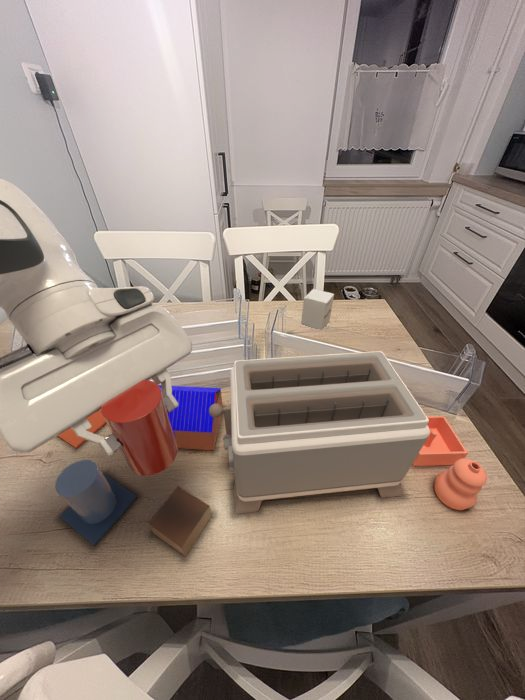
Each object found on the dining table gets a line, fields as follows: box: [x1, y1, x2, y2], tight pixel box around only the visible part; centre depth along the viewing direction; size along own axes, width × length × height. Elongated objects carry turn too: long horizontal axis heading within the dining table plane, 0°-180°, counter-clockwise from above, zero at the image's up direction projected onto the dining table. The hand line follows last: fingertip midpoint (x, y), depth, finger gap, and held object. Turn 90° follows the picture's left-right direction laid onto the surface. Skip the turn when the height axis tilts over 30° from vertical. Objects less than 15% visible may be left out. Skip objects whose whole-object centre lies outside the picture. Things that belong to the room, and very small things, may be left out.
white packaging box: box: [300, 288, 335, 330], centre depth 93 cm, size 7×7×13 cm
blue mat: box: [59, 472, 138, 547], centre depth 52 cm, size 9×9×1 cm
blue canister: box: [54, 459, 117, 524], centre depth 49 cm, size 6×6×10 cm
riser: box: [147, 485, 213, 557], centre depth 49 cm, size 7×7×4 cm
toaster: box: [209, 350, 430, 515], centre depth 54 cm, size 19×34×20 cm, turn 96°
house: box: [158, 384, 224, 451], centre depth 63 cm, size 12×20×12 cm, turn 86°
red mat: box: [57, 410, 107, 449], centre depth 66 cm, size 9×9×1 cm
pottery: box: [411, 415, 488, 511], centre depth 56 cm, size 18×10×10 cm, turn 2°
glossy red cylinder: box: [100, 379, 179, 477], centre depth 34 cm, size 6×6×10 cm
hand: (146, 429), depth 33 cm, fingers closed on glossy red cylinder, 6 cm apart
